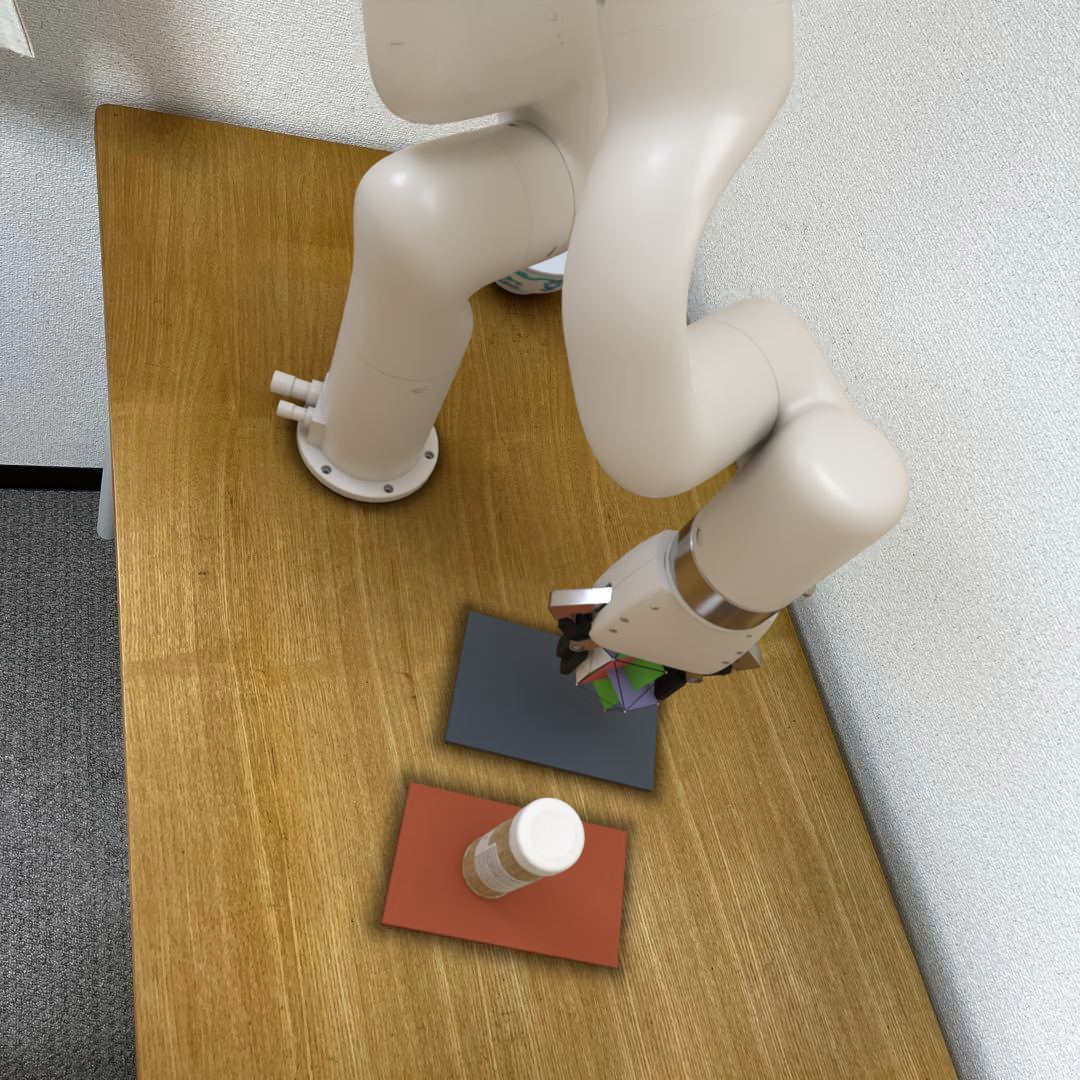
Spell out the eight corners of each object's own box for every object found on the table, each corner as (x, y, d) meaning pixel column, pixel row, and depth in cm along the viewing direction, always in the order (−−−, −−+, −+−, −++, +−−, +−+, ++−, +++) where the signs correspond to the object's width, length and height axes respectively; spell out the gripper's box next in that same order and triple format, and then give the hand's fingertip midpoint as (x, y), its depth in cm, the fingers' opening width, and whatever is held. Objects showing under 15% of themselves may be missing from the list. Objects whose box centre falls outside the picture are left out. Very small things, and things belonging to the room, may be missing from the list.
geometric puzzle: (653, 615, 72) (638, 595, 65) (691, 693, 70) (680, 681, 62) (574, 654, 73) (550, 638, 66) (609, 732, 71) (588, 725, 63)
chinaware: (422, 235, 96) (440, 177, 90) (529, 208, 104) (552, 154, 97) (499, 340, 93) (523, 289, 86) (603, 305, 101) (632, 255, 94)
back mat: (443, 742, 71) (445, 740, 70) (468, 613, 77) (470, 610, 76) (650, 792, 75) (653, 790, 74) (657, 666, 81) (660, 663, 80)
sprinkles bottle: (503, 826, 69) (568, 785, 58) (527, 885, 67) (599, 853, 56) (449, 850, 66) (506, 812, 55) (474, 911, 65) (537, 884, 54)
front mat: (380, 924, 63) (382, 923, 62) (409, 783, 68) (411, 781, 68) (614, 968, 67) (617, 967, 67) (624, 833, 72) (627, 831, 72)
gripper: (850, 554, 58) (714, 653, 73) (604, 474, 54) (512, 596, 69) (858, 660, 54) (712, 742, 69) (593, 581, 50) (497, 687, 65)
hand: (613, 668), depth 69 cm, fingers closed on geometric puzzle, 7 cm apart
